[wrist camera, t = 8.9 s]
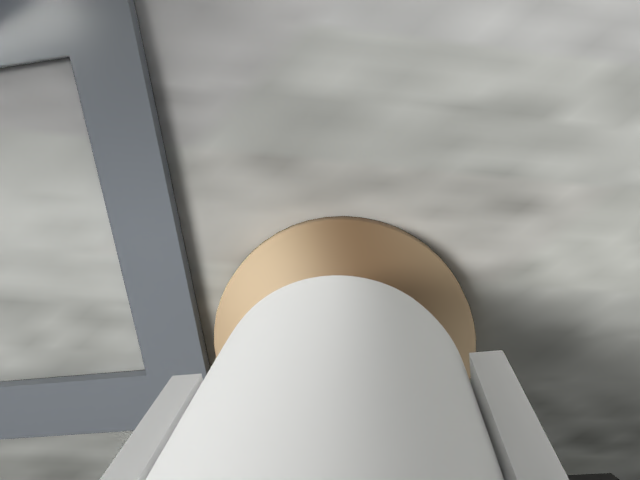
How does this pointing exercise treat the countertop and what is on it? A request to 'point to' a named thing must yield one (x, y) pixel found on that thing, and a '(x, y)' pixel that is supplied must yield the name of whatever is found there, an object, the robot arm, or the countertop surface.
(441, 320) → the coaster
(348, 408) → the can
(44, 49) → the frame
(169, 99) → the countertop surface
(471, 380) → the robot arm
